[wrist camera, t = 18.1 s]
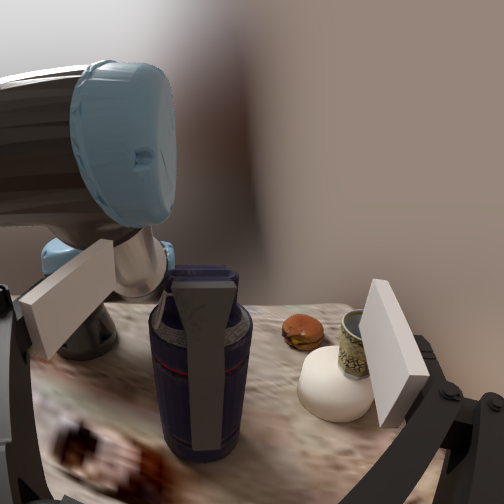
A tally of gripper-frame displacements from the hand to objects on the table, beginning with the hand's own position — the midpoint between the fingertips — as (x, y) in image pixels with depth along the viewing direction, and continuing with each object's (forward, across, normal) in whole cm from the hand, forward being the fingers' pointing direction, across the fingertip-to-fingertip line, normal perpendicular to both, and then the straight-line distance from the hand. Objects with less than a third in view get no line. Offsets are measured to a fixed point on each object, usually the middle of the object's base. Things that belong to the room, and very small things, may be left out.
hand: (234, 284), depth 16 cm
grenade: (+15, -5, -38) cm, 41 cm away
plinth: (+30, +17, -38) cm, 51 cm away
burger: (+47, +10, -38) cm, 61 cm away
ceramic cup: (+30, +20, -32) cm, 48 cm away
